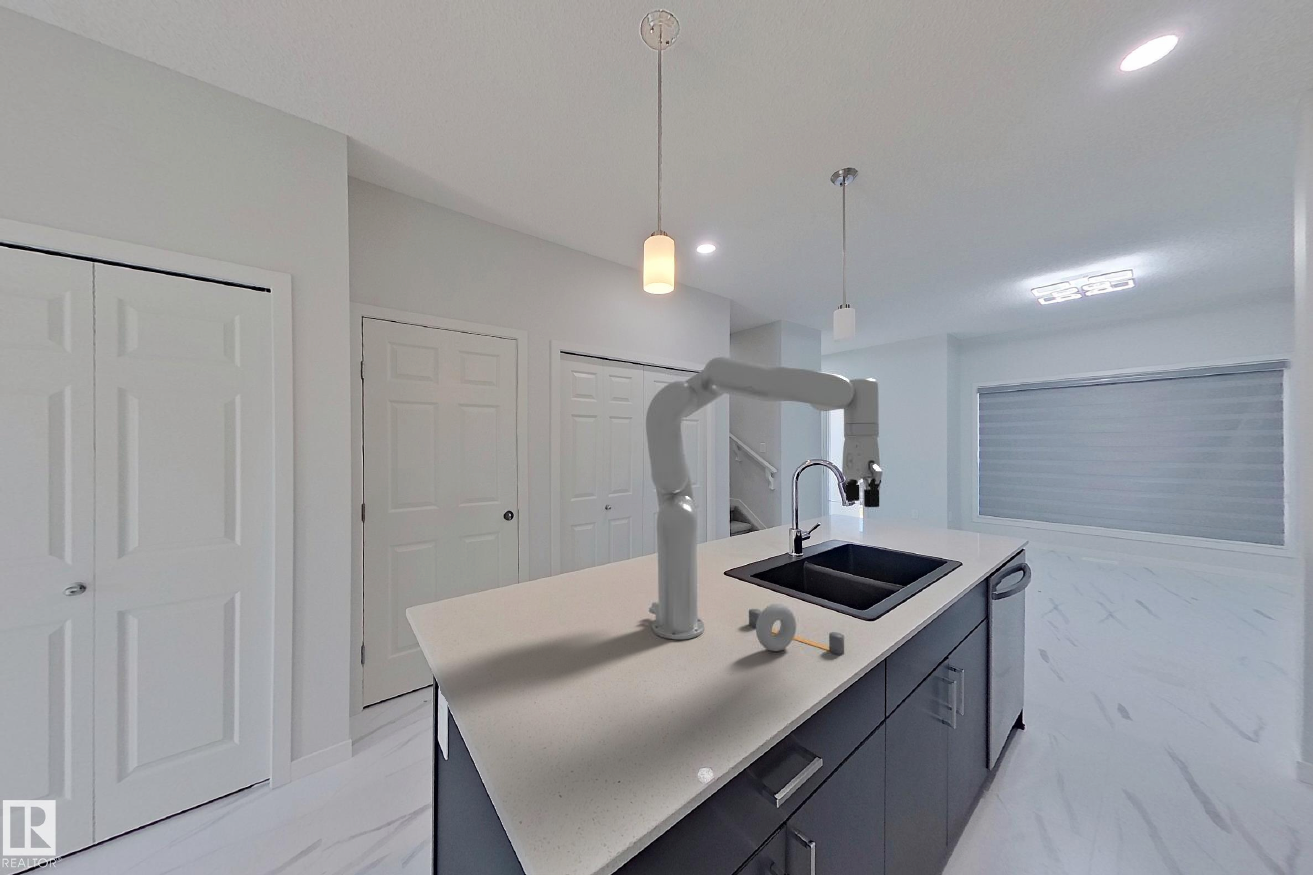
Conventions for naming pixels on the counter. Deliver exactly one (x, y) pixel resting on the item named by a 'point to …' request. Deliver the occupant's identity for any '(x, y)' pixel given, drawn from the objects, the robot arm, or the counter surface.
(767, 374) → the robot arm
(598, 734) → the counter surface
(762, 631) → the donut
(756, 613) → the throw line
